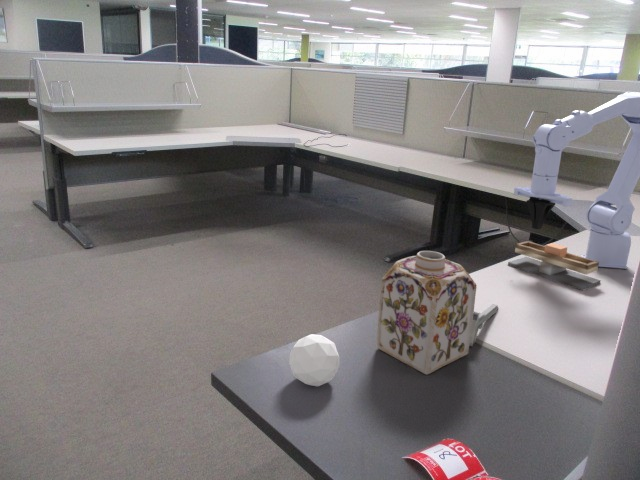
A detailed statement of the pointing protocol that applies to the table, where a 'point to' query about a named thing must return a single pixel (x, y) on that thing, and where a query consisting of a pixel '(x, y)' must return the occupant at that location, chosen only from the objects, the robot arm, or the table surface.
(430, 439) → the table surface
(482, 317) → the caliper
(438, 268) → the decorative jar
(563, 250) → the block
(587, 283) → the balance beam
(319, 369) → the ball
